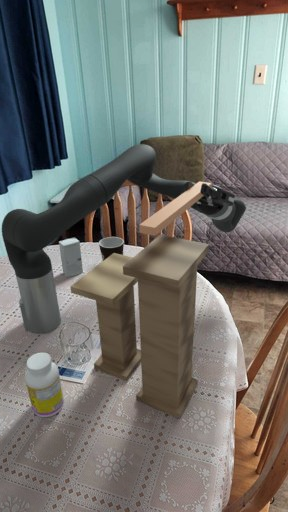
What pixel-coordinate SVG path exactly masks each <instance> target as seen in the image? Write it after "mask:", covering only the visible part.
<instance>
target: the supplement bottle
mask: <svg viewBox="0 0 288 512" xmlns="http://www.w3.org/2000/svg"><path fill="white" fill-rule="evenodd" d="M26 367H27V370H26V372H25V374H24V382H25V384H26V388H27V392H28V397H29V400H30V405H31V408H32V412H33V413H34V414H35V415H36V416H37V417H40V418H50V417H53V416H55V415H57V414H58V413H59V412H60V411H61V410H62V408H63V407H64V403H65V396H64V391H63V387H62V381H61V376H60V371H59V367H58V365H57V364H56V363H54V361H52V356H51V355H50V354H49V353H47V352H37V353H33V354H32V355H31V356H30V357H29V358H28V359H27V360H26Z"/></svg>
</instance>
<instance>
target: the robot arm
mask: <svg viewBox="0 0 288 512" xmlns="http://www.w3.org/2000/svg"><path fill="white" fill-rule="evenodd" d="M156 162H157V153H156V151H155V149H154V148H153V147H152V146H150V145H148V144H143V143H140V144H139V143H138V144H135V145H132V146H130V147H129V148H127V149H125V151H123V152H122V153H120V154H119V155H117V157H115V158H114V159H113V160H111V161H110V162H108V163H106V164H104V165H102V166H101V167H100V168H98V169H96V170H94V171H92V172H91V173H89V174H87V175H85V176H83V177H81V178H80V179H78V180H77V181H75V182H74V183H71V185H70V186H69V187H68V188H67V190H66V191H65V193H64V196H63V198H62V199H61V200H60V201H59V202H58V203H57V204H55V205H53V206H52V207H50V208H48V209H46V210H44V211H42V212H38V213H35V212H33V211H29V210H27V209H24V208H16V209H13V210H11V211H9V212H8V213H6V215H4V218H3V220H2V223H1V236H2V241H3V244H4V248H5V251H6V254H7V259H8V261H9V264H10V265H11V266H12V268H13V270H14V274H15V277H16V282H17V287H18V291H19V295H20V299H19V301H18V304H19V309H20V314H21V318H22V322H23V326H24V331H28V332H31V333H33V334H46V333H50V332H52V331H54V330H56V329H57V328H58V327H59V326H60V325H61V323H62V318H61V317H62V316H61V312H60V306H59V301H58V295H57V290H56V289H57V288H56V284H55V276H54V269H53V265H52V261H51V260H52V259H51V257H50V256H49V255H48V254H47V252H46V251H44V249H45V248H46V247H47V246H49V245H50V244H51V243H53V242H54V241H55V240H56V239H58V237H60V236H61V235H63V233H65V232H66V231H67V230H68V229H70V228H71V227H72V226H74V225H75V224H77V223H78V222H80V221H81V220H83V218H86V217H87V216H88V215H91V214H92V213H94V212H95V211H97V210H98V209H100V208H101V207H102V206H104V205H105V204H107V203H108V202H109V201H110V200H112V199H113V198H114V196H115V195H116V194H117V193H118V192H119V190H120V189H121V188H122V186H123V185H124V183H126V181H128V182H129V183H131V184H133V185H136V186H137V187H140V188H143V189H147V190H149V191H152V192H155V193H157V194H160V195H163V196H166V197H169V198H170V199H173V200H174V199H176V198H177V197H179V196H180V195H181V194H183V193H184V192H185V191H187V190H188V189H190V188H191V187H193V186H194V185H195V184H197V182H193V181H189V180H185V179H183V180H174V179H173V180H172V179H171V180H170V179H165V178H163V177H160V176H158V175H156V174H155V173H153V172H154V171H155V166H156ZM200 192H201V194H202V195H204V196H203V197H202V198H200V199H199V200H198V201H197V202H196V203H194V204H193V205H192V206H191V207H190V208H191V209H192V210H195V211H196V212H199V213H200V214H203V215H204V216H206V217H208V218H210V219H211V223H212V225H214V227H215V228H216V229H217V230H219V231H221V232H222V233H231V232H233V231H234V230H235V229H236V228H237V226H238V225H239V222H240V221H241V220H242V218H243V216H244V214H245V212H246V210H247V206H246V204H245V203H244V201H243V200H242V199H239V198H237V197H236V195H235V194H234V193H231V192H229V191H226V190H225V189H223V188H222V187H220V186H218V185H214V184H212V187H209V186H208V185H207V184H206V183H202V186H201V190H200Z"/></svg>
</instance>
